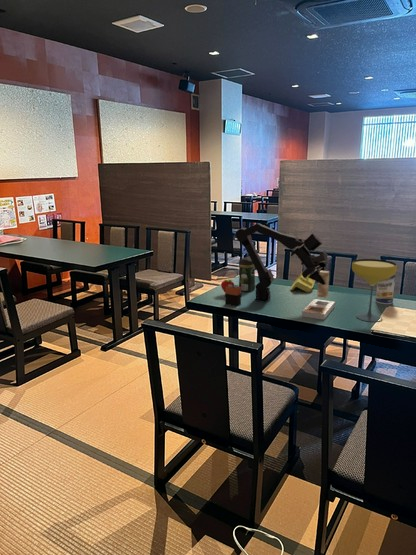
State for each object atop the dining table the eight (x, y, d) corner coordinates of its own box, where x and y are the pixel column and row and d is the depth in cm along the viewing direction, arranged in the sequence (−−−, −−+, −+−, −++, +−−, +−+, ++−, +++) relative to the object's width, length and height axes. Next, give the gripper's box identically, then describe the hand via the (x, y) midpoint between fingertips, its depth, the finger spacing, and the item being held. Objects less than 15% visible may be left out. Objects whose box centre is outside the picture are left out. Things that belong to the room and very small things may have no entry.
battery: (237, 306, 197) (237, 287, 195) (224, 304, 201) (225, 285, 198) (241, 304, 201) (241, 285, 198) (229, 302, 204) (229, 283, 202)
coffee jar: (244, 286, 233) (244, 255, 228) (256, 288, 229) (257, 256, 224) (236, 290, 225) (236, 258, 220) (249, 292, 221) (249, 259, 216)
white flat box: (301, 316, 183) (302, 310, 183) (314, 303, 201) (314, 298, 200) (324, 319, 179) (324, 313, 178) (334, 306, 196) (335, 301, 196)
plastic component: (312, 289, 219) (295, 280, 221) (305, 300, 222) (289, 291, 224) (316, 278, 237) (300, 269, 238) (310, 288, 240) (294, 280, 241)
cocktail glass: (380, 311, 190) (385, 258, 184) (399, 324, 172) (405, 267, 166) (341, 311, 189) (346, 259, 183) (357, 325, 172) (362, 267, 166)
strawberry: (224, 292, 222) (224, 274, 219) (236, 294, 218) (236, 276, 216) (218, 295, 217) (218, 277, 214) (231, 297, 213) (231, 278, 211)
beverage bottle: (395, 302, 203) (399, 263, 198) (389, 305, 197) (393, 265, 192) (378, 298, 209) (382, 260, 204) (372, 302, 203) (375, 263, 198)
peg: (317, 296, 192) (318, 272, 189) (319, 294, 196) (321, 270, 193) (325, 297, 190) (327, 273, 187) (327, 295, 194) (329, 271, 191)
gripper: (309, 249, 183) (331, 277, 179) (325, 244, 197) (346, 269, 193) (292, 264, 189) (313, 291, 185) (309, 258, 203) (329, 282, 200)
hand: (326, 283), depth 191 cm, fingers closed on peg, 4 cm apart
